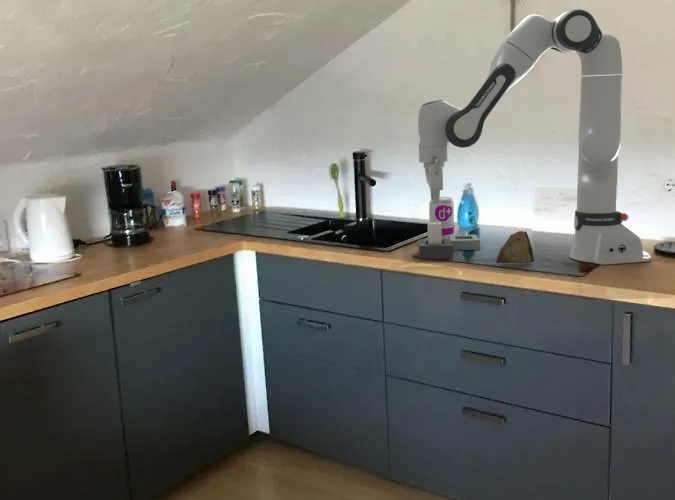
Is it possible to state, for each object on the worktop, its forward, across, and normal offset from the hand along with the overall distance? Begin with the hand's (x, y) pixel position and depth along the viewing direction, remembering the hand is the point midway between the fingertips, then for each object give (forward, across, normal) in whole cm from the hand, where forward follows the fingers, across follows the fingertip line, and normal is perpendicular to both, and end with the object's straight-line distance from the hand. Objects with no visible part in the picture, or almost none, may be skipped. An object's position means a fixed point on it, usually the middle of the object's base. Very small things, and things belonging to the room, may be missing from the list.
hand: (435, 201), depth 218 cm
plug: (+16, 0, 0) cm, 16 cm away
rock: (+18, -7, -22) cm, 30 cm away
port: (+18, 0, 0) cm, 18 cm away
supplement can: (+18, +24, -4) cm, 30 cm away
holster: (+18, +11, -10) cm, 23 cm away
